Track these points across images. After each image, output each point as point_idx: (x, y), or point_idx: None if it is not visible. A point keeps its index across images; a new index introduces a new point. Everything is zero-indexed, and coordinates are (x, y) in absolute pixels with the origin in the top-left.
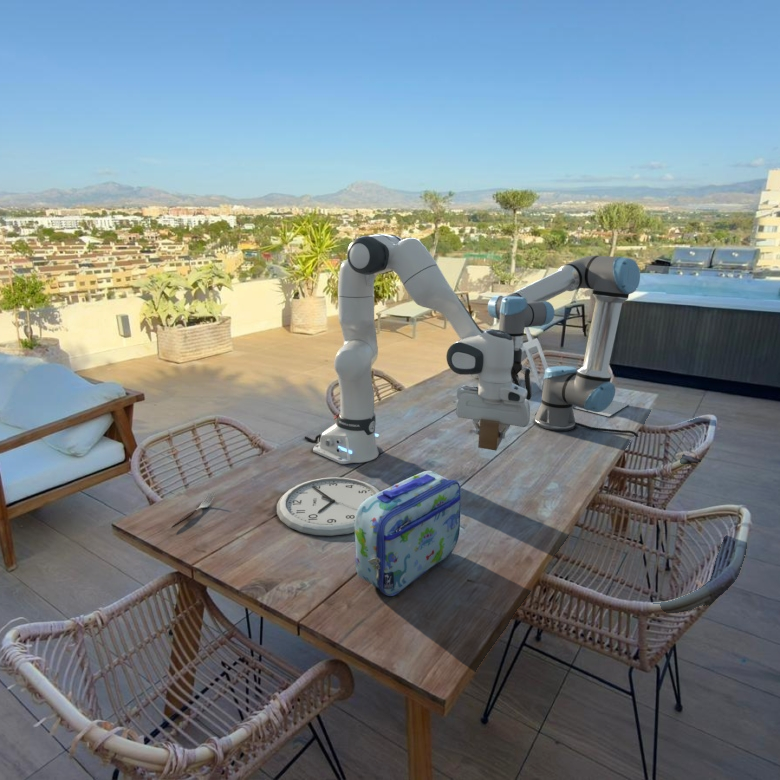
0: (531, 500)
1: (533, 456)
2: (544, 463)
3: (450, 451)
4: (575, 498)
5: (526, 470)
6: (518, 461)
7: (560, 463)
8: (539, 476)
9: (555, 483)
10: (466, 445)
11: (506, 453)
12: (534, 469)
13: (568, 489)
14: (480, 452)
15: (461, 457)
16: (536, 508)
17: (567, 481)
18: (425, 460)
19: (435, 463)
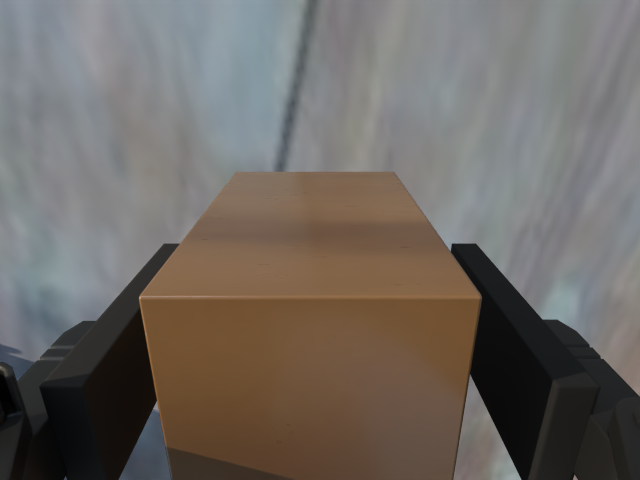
0: (473, 432)
1: (486, 29)
2: (542, 104)
3: (56, 157)
4: (627, 372)
5: (451, 221)
6: (409, 135)
7: (629, 67)
8: (508, 256)
9: (570, 292)
10: (92, 32)
11: (335, 53)
12: (488, 196)
13: (615, 320)
14: (199, 102)
15: (136, 205)
16: (488, 466)
17: (625, 256)
18: (12, 297)
19: (65, 307)
